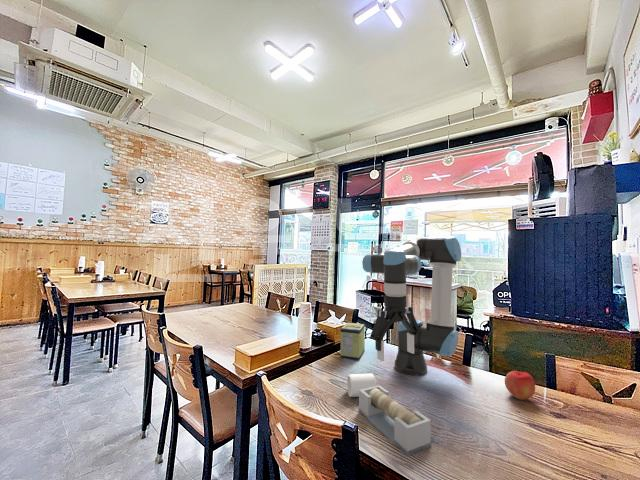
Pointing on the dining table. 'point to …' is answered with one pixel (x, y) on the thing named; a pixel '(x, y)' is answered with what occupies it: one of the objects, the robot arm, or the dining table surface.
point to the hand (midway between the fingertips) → (396, 356)
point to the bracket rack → (396, 425)
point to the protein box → (352, 341)
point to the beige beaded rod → (392, 407)
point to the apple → (520, 384)
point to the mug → (359, 383)
